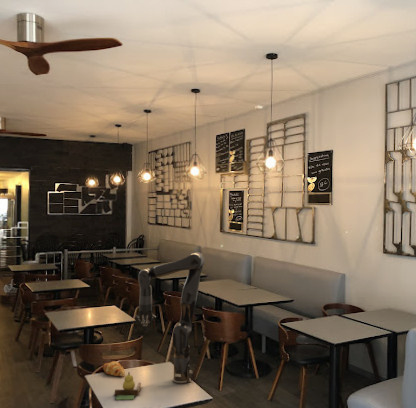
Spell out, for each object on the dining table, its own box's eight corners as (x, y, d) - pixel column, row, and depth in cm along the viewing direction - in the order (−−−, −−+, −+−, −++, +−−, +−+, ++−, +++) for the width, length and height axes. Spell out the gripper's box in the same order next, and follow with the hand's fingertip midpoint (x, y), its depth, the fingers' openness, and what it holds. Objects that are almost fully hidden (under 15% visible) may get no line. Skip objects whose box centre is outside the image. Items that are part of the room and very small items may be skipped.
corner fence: (140, 387, 255) (140, 382, 255) (137, 395, 244) (137, 390, 244) (118, 388, 254) (118, 382, 254) (114, 395, 243) (114, 390, 243)
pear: (135, 389, 253) (135, 369, 253) (133, 393, 246) (134, 374, 246) (123, 389, 252) (123, 370, 252) (121, 394, 246) (122, 374, 246)
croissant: (127, 381, 272) (133, 368, 275) (115, 378, 265) (121, 364, 268) (107, 372, 286) (112, 359, 288) (94, 368, 279) (100, 355, 281)
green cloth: (134, 396, 244) (134, 394, 244) (132, 399, 239) (133, 398, 239) (117, 396, 243) (117, 395, 243) (115, 400, 238) (115, 399, 238)
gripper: (133, 304, 266) (132, 333, 266) (156, 304, 267) (155, 333, 267) (135, 301, 273) (135, 330, 273) (157, 301, 274) (157, 330, 274)
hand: (145, 332), depth 270 cm, fingers closed
